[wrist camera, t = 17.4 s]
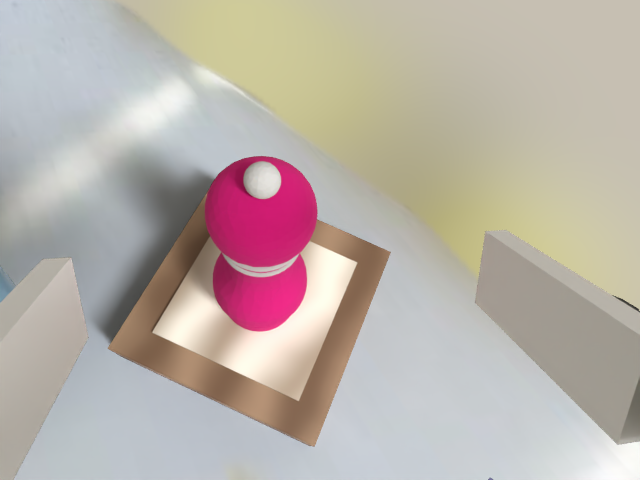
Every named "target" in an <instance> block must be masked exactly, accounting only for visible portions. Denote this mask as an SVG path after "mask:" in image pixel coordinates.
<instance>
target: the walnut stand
mask: <svg viewBox="0 0 640 480" xmlns="http://www.w3.org/2000/svg"><path fill="white" fill-rule="evenodd" d="M208 191H209V190H208ZM207 193H208V192H207ZM207 193H206V195H205V196H204V198H203V199H202V201H201V203H200V204H199V206H198V207H197V209H196V210H195V212H194V214H193V215H192V217H191V218H190V220H189V221H188V223H187V225H186V226H185V228H184V229H183V231H182V232H181V234H180V236H179V237H178V239H177V240H176V242H175V243H174V245H173V247H172V248H171V250H170V251H169V253H168V254H167V256H166V258H165V259H164V261H163V262H162V264H161V265H160V267H159V268H158V270H157V272H156V273H155V275H154V276H153V278H152V279H151V281H150V283H149V284H148V286H147V287H146V289H145V290H144V292H143V294H142V295H141V297H140V298H139V300H138V301H137V303H136V305H135V306H134V308H133V309H132V311H131V312H130V314H129V316H128V317H127V319H126V320H125V322H124V323H123V325H122V327H121V328H120V330H119V331H118V333H117V334H116V336H115V338H114V339H113V341H112V342H111V344H110V345H109V347H108V349H109V350H111V351H113V352H115V353H116V354H118V355H120V356H121V357H123V358H125V359H128V360H130V361H132V362H134V363H136V364H138V365H140V366H142V367H144V368H147V369H149V370H151V371H153V372H155V373H157V374H159V375H161V376H163V377H165V378H168V379H170V380H172V381H174V382H176V383H178V384H180V385H182V386H184V387H187V388H189V389H191V390H193V391H195V392H197V393H199V394H201V395H203V396H206V397H208V398H210V399H212V400H214V401H216V402H218V403H220V404H222V405H224V406H227V407H229V408H231V409H233V410H235V411H237V412H239V413H241V414H243V415H246V416H248V417H250V418H252V419H254V420H256V421H258V422H260V423H262V424H265V425H267V426H269V427H271V428H273V429H275V430H277V431H279V432H281V433H283V434H286V435H288V436H290V437H292V438H294V439H296V440H298V441H300V442H302V443H305V444H307V445H309V446H314V447H315V444H316V441H317V439H318V436H319V434H320V431H321V429H322V426H323V424H324V421H325V418H326V416H327V413H328V411H329V408H330V406H331V403H332V401H333V398H334V396H335V393H336V390H337V388H338V385H339V383H340V380H341V378H342V375H343V373H344V370H345V367H346V365H347V362H348V360H349V357H350V355H351V352H352V350H353V347H354V345H355V342H356V339H357V337H358V334H359V332H360V329H361V327H362V324H363V322H364V319H365V317H366V314H367V311H368V309H369V306H370V304H371V301H372V299H373V296H374V294H375V291H376V288H377V286H378V283H379V281H380V278H381V276H382V273H383V271H384V268H385V266H386V263H387V260H388V258H389V255H390V253H391V252H389V251H387V250H385V249H382V248H380V247H378V246H376V245H373V244H371V243H369V242H367V241H364V240H362V239H360V238H358V237H355V236H353V235H351V234H349V233H346V232H344V231H342V230H340V229H337V228H335V227H333V226H331V225H329V224H326V223H324V222H322V221H320V220H317V222H316V227H315V230H314V232H313V235H312V237H311V239H310V241H309V243H308V244H307V245H306V246H305V248H304V249H303V250H302V252H300V254H301V256H302V258H303V260H304V263H305V266H306V270H307V288H306V293H305V296H304V299H303V301H302V303H301V304H300V306H299V307H298V309H297V310H296V311H295V312H294V313H293V314H292V315H291V316H290V317H289V318H288V319H287V320H286V321H285V322H284V323H283V324H282V325H280V326H279V327H277V328H275V329H272V330H269V331H263V332H256V331H250V330H247V329H244V328H242V327H240V326H239V325H237V324H236V323H235V322H234V321H233V320H232V319H231V318H230V317H229V316H228V315H227V314H226V313H225V312H224V311H223V310H222V308H221V307H220V305H219V304H218V302H217V300H216V298H215V295H214V291H213V271H214V266H215V263H216V260H217V259H218V257H219V255H220V253H221V251H220V250H219V249H218V247H217V246H216V245H215V244H214V242H213V240H212V239H211V237H210V234H209V232H208V230H207V226H206V222H205V201H206V197H207Z"/></svg>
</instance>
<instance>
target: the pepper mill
mask: <svg viewBox="0 0 640 480" xmlns="http://www.w3.org/2000/svg"><path fill="white" fill-rule="evenodd" d="M205 222H206V226H207V230H208V232H209V234H210V237H211V239H212V240H213V242H214V244H215V245H216V246H217V247H218V249H219V250H220V251H221V253H220V255H219V257H218V259H217V260H216V263H215V266H214V271H213V291H214V295H215V298H216V300H217V302H218V304H219V305H220V307H221V308H222V310H223V311H224V312H225V313H226V314H227V315H228V316H229V317H230V318H231V319H232V320H233V321H234V322H235V323H236V324H237V325H239V326H240V327H242V328H244V329H247V330H250V331H256V332H263V331H269V330H272V329H275V328H277V327H279V326H280V325H282V324H283V323H284V322H285V321H286V320H287V319H288V318H289V317H290V316H291V315H292V314H293V313H294V312H295V311H296V310H297V309H298V307H299V306H300V304H301V303H302V301H303V299H304V296H305V293H306V288H307V270H306V266H305V263H304V260H303V258H302V256H301V254H300V252H302V250H303V249H304V248H305V246H306V245H307V244H308V243H309V241H310V239H311V237H312V235H313V232H314V230H315V227H316V222H317V203H316V199H315V194H314V192H313V190H312V188H311V185H310V183H309V182H308V181H307V179H306V178H305V177H304V175H303V174H302V173H301V172H300V171H299V170H297V169H296V168H295V167H294V166H292V165H291V164H289V163H287V162H285V161H283V160H280V159H277V158H273V157H266V156H256V157H249V158H244V159H241V160H239V161H236V162H234V163H232V164H231V165H229V166H228V167H226V168H225V169H224V170H223V171H221V172H220V173H219V174H218V176H217V177H216V178H215V180H214V181H213V183H212V184H211V186H210V188H209V191H208V193H207V197H206V201H205Z"/></svg>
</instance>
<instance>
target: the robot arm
mask: <svg viewBox="0 0 640 480" xmlns="http://www.w3.org/2000/svg"><path fill="white" fill-rule="evenodd" d="M475 303H476V304H477V305H478V306H479V307H480V308H481V309H482V310H483V311H484V312H485V313H486V314H487V315H488V316H489V317H490V318H491V319H492V320H493V321H494V322H495V323H496V324H497V325H498V326H499V327H500V328H501V329H502V330H503V331H504V332H505V333H506V334H507V335H508V336H509V337H510V338H511V339H512V340H513V341H514V342H515V343H516V344H517V345H518V346H519V347H520V348H521V349H522V350H523V351H524V352H525V353H526V354H527V355H528V356H529V357H530V358H531V359H532V360H533V361H534V362H535V363H536V364H537V365H538V366H539V367H540V368H541V369H542V370H543V371H544V372H545V373H546V374H547V375H548V376H549V377H550V378H551V379H552V380H553V381H554V382H555V383H556V384H557V385H558V386H559V387H560V388H561V389H562V390H563V391H564V392H565V393H566V394H567V395H568V396H569V397H570V398H571V399H572V400H573V401H574V402H575V403H576V404H577V405H578V406H579V407H580V408H581V409H582V410H583V411H584V412H585V413H586V414H587V415H588V416H589V417H590V418H591V419H592V420H593V421H594V422H595V423H596V424H597V425H598V426H599V427H600V428H601V429H602V430H603V431H604V432H605V433H606V434H607V435H608V436H609V437H610V438H611V439H612V440H613V441H614V442H615V443H616V444H617V445H619V444H625V443H632V442H638V441H640V311H639V309H638V308H636V307H634V306H633V305H631V304H629V303H628V302H626V301H625V300H623V299H621V298H618V297H616V296H613V295H610V294H609V293H607V292H605V291H604V290H603V289H601V288H599V287H598V286H596V285H594V284H593V283H591V282H590V281H588V280H586V279H584V278H583V277H581V276H580V275H578V274H577V273H575V272H573V271H572V270H570V269H568V268H567V267H565V266H563V265H562V264H560V263H559V262H557V261H555V260H554V259H552V258H551V257H549V256H547V255H546V254H544V253H542V252H541V251H539V250H538V249H536V248H534V247H533V246H531V245H530V244H528V243H526V242H525V241H523V240H521V239H520V238H518V237H517V236H515V235H513V234H512V233H510V232H508V231H506V230H499V231H486V232H485V238H484V246H483V252H482V259H481V265H480V272H479V279H478V285H477V292H476V299H475ZM88 338H89V337H88V332H87V328H86V323H85V319H84V314H83V309H82V305H81V300H80V296H79V291H78V286H77V282H76V277H75V273H74V268H73V263H72V259H71V257H68V258H52V259H42V260H41V261H40V262H39V263H38V264H37V265H36V267H35V268H34V269H33V270H32V271H31V272H30V273H29V274H28V275H27V276H26V277H25V278H24V279H23V280H22V281H21V282H20V283H19V284H18V285H17V286H15V285H14V283H13V282H12V280H11V279H10V278H9V276H8V275H7V274H6V273H5V271H4V270H3V269H2V268H1V266H0V480H14V478H15V476H16V474H17V472H18V470H19V468H20V466H21V464H22V463H23V461H24V459H25V457H26V455H27V453H28V451H29V449H30V447H31V445H32V444H33V442H34V440H35V438H36V436H37V434H38V432H39V430H40V428H41V427H42V425H43V423H44V421H45V419H46V417H47V415H48V413H49V411H50V409H51V408H52V406H53V404H54V402H55V400H56V398H57V396H58V394H59V392H60V391H61V389H62V387H63V385H64V383H65V381H66V379H67V377H68V375H69V374H70V372H71V370H72V368H73V366H74V364H75V362H76V360H77V358H78V356H79V355H80V353H81V351H82V349H83V347H84V345H85V343H86V341H87V339H88Z"/></svg>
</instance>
